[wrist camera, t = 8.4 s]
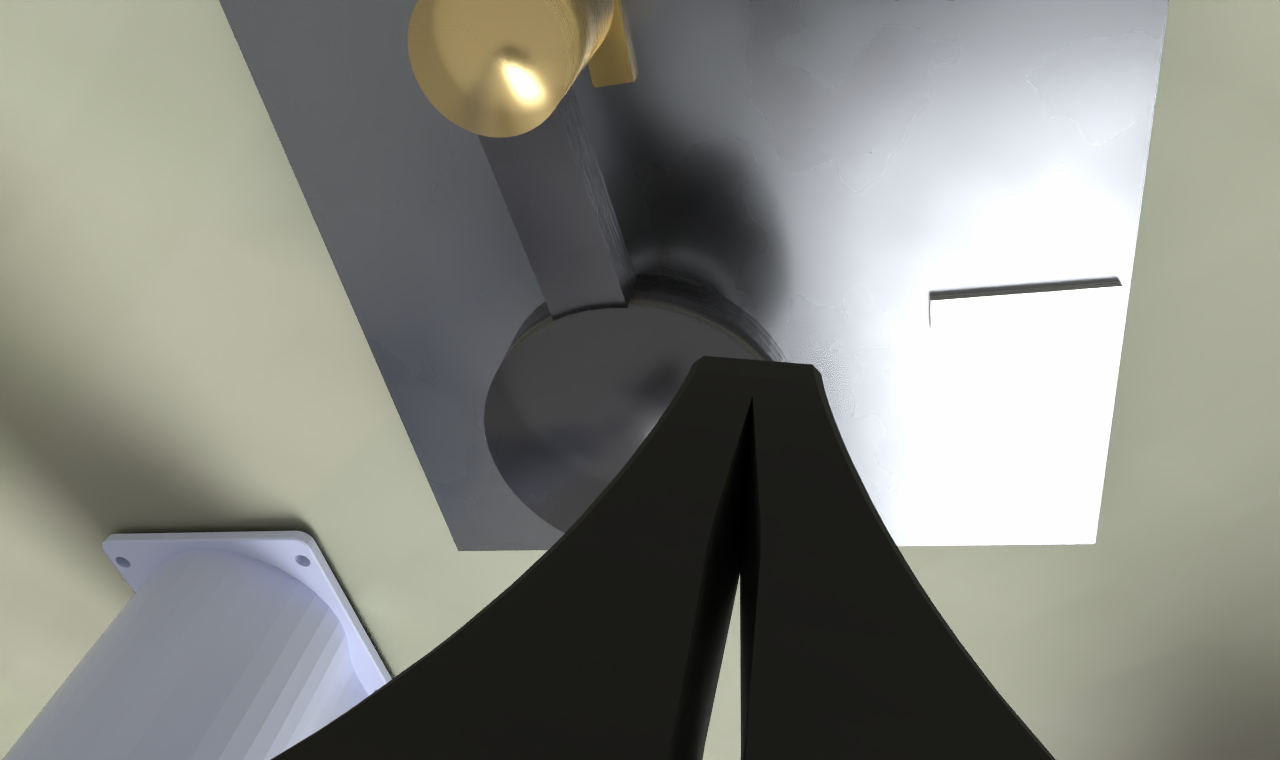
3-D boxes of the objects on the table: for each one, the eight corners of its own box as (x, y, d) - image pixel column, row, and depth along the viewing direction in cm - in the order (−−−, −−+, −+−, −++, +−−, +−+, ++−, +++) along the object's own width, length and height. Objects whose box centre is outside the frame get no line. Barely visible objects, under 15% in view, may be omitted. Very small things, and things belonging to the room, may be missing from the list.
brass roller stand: (823, 433, 20) (822, 545, 18) (582, 462, 22) (546, 568, 19) (692, -130, 14) (660, -94, 11) (372, -25, 16) (276, 28, 13)
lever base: (1083, 509, 23) (1121, 622, 20) (471, 521, 27) (429, 616, 24) (1185, -324, 13) (1285, -337, 10) (214, -103, 17) (93, -70, 14)
